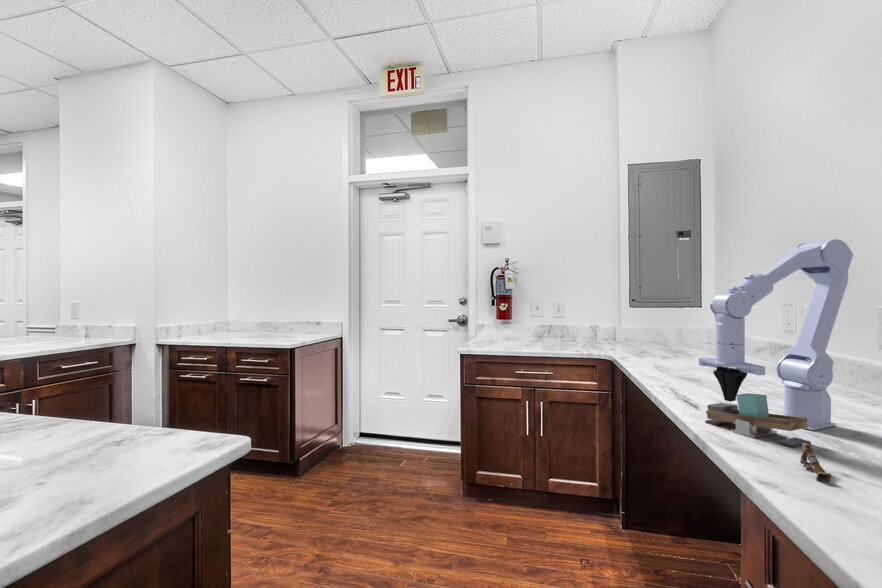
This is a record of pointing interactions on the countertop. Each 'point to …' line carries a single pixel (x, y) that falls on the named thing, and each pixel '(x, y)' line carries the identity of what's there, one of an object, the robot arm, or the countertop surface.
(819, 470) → the wooden post with brackets
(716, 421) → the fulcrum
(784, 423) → the beam
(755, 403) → the block
